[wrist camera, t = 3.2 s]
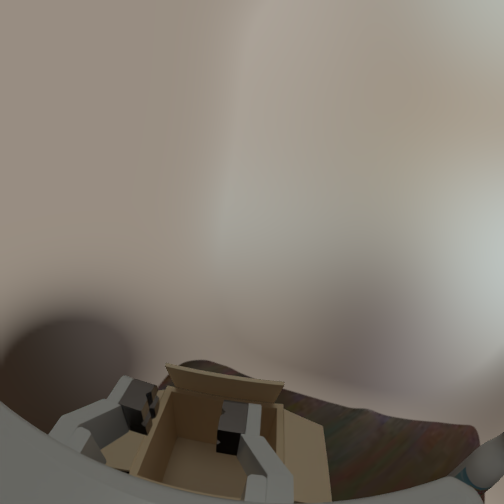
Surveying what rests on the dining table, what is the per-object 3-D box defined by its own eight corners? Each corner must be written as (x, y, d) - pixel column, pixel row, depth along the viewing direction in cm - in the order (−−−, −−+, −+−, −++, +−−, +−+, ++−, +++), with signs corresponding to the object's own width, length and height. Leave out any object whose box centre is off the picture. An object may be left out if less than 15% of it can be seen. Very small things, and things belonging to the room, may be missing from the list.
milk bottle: (422, 487, 23) (499, 406, 17) (456, 482, 21) (530, 402, 15) (424, 523, 16) (518, 450, 10) (460, 515, 14) (549, 438, 8)
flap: (284, 385, 26) (284, 381, 26) (165, 366, 26) (166, 362, 26) (274, 402, 31) (274, 400, 31) (175, 387, 31) (176, 384, 31)
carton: (311, 563, 14) (350, 551, 10) (93, 523, 15) (53, 494, 11) (306, 450, 34) (329, 405, 30) (138, 423, 35) (125, 373, 31)
